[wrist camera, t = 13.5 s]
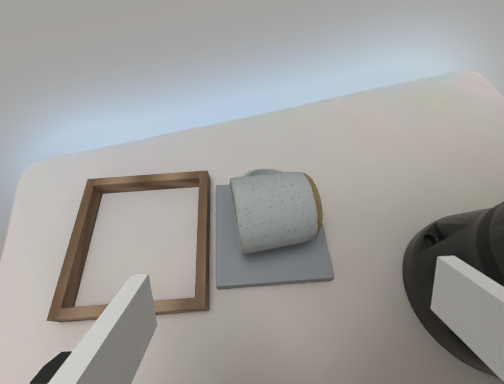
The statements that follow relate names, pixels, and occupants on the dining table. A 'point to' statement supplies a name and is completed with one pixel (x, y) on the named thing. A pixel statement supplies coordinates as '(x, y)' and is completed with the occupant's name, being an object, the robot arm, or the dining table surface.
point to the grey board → (264, 255)
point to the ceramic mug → (275, 209)
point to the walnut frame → (82, 234)
